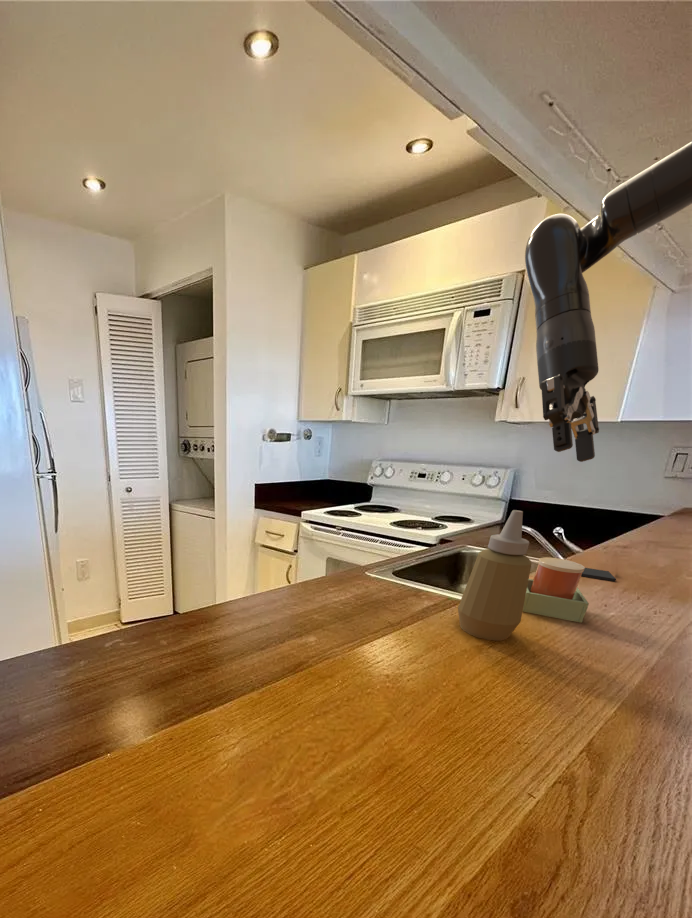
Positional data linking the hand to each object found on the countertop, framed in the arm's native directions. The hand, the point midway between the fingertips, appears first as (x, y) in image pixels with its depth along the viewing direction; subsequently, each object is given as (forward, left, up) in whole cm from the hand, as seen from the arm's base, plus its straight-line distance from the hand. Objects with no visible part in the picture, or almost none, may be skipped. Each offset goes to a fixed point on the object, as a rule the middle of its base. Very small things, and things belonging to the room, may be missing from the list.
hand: (575, 455), depth 72 cm
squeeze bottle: (+8, +19, -25) cm, 32 cm away
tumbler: (-2, +3, -24) cm, 24 cm away
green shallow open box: (-2, +3, -25) cm, 25 cm away
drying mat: (-15, -29, -25) cm, 41 cm away
